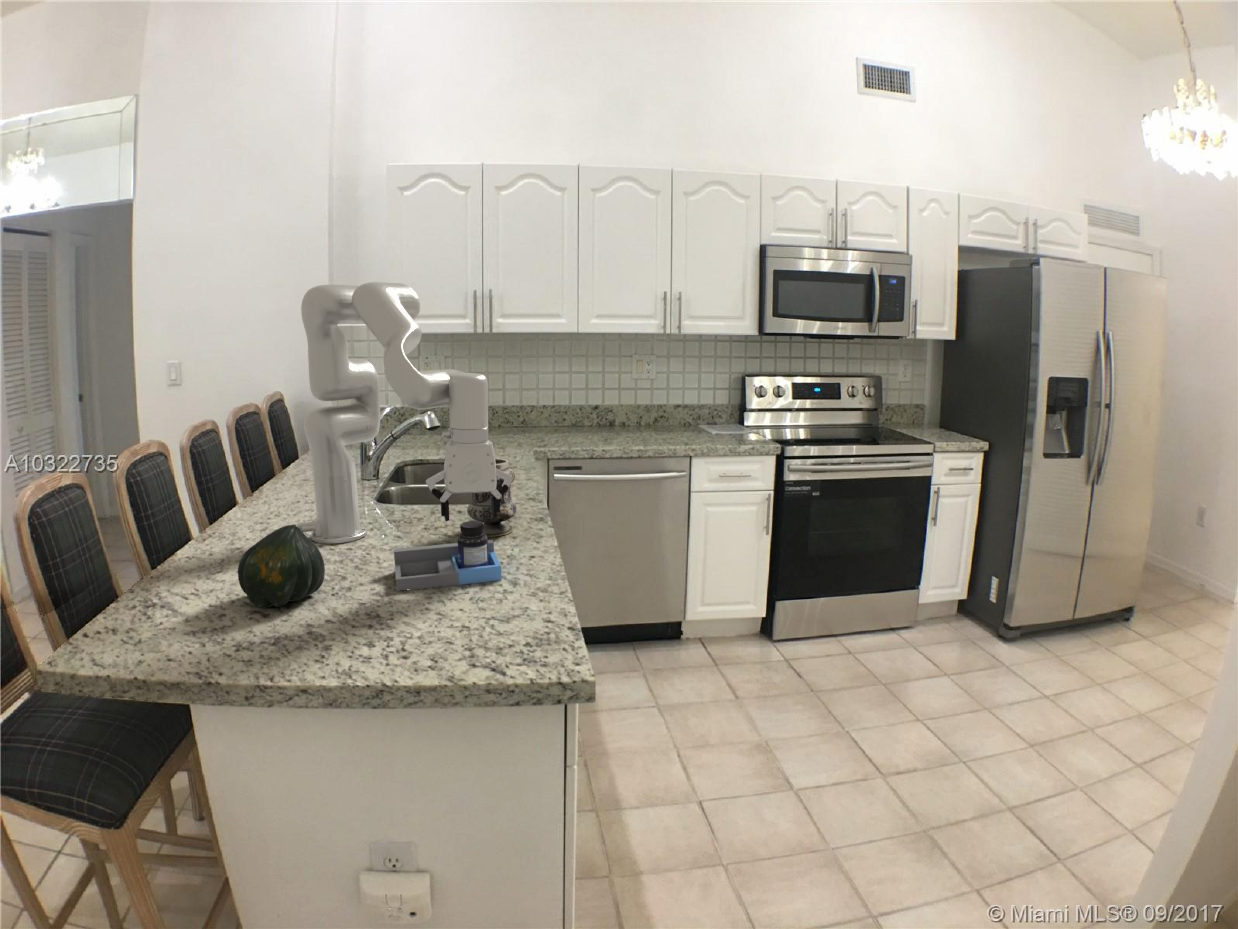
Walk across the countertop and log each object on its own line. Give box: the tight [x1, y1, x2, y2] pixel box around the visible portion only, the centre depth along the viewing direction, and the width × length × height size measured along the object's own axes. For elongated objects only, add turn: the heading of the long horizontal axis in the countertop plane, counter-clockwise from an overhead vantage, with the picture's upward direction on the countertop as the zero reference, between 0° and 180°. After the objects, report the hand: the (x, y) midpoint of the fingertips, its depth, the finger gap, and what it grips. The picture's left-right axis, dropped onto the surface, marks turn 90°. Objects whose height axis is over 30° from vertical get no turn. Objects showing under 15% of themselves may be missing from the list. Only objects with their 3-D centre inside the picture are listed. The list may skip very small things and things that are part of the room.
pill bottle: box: [456, 520, 489, 569], centre depth 146 cm, size 6×6×11 cm
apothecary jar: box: [466, 457, 517, 538], centre depth 175 cm, size 12×12×18 cm
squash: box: [237, 523, 326, 609], centre depth 133 cm, size 14×15×15 cm
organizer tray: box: [393, 539, 503, 592], centre depth 146 cm, size 20×12×5 cm, turn 108°
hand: (470, 517), depth 145 cm, fingers open, 9 cm apart
